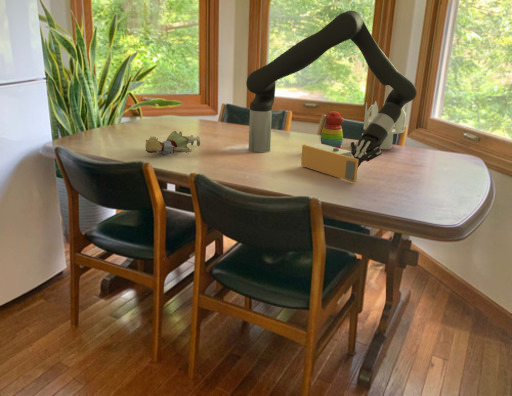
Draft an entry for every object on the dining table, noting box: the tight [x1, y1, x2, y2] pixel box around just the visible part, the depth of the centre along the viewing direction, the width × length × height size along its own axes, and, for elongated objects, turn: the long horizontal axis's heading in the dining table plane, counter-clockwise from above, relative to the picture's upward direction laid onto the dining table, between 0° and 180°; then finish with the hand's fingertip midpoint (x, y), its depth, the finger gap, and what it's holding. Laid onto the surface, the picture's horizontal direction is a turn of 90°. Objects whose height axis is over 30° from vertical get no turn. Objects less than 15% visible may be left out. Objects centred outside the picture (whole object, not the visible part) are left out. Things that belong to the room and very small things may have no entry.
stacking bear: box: [320, 110, 345, 150], centre depth 197 cm, size 11×10×18 cm
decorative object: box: [361, 100, 408, 150], centre depth 206 cm, size 18×29×20 cm, turn 143°
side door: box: [300, 144, 359, 183], centre depth 165 cm, size 26×2×8 cm, turn 38°
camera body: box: [308, 142, 352, 173], centre depth 171 cm, size 17×8×9 cm, turn 38°
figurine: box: [145, 130, 201, 155], centre depth 191 cm, size 25×8×30 cm
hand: (352, 167), depth 160 cm, fingers closed
